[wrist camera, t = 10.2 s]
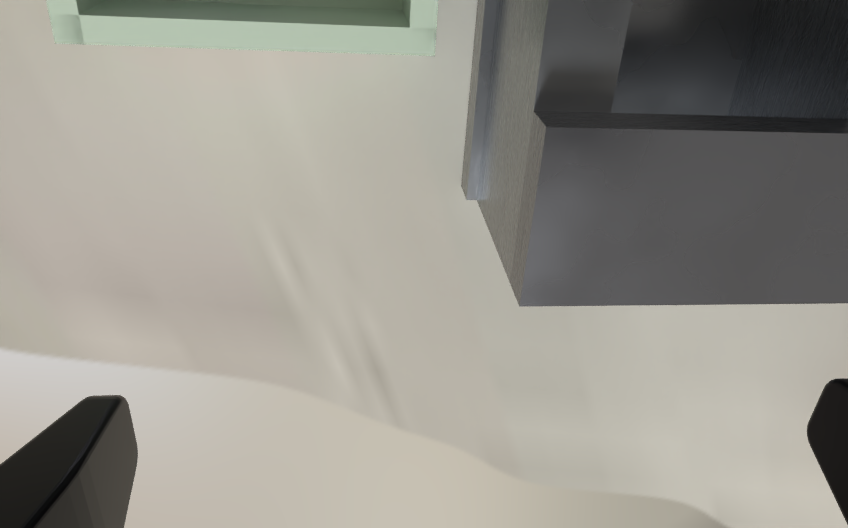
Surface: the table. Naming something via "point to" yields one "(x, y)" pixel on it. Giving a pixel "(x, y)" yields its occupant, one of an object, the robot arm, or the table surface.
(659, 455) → the table surface
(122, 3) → the tray
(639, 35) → the bracket
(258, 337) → the table surface
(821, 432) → the robot arm
